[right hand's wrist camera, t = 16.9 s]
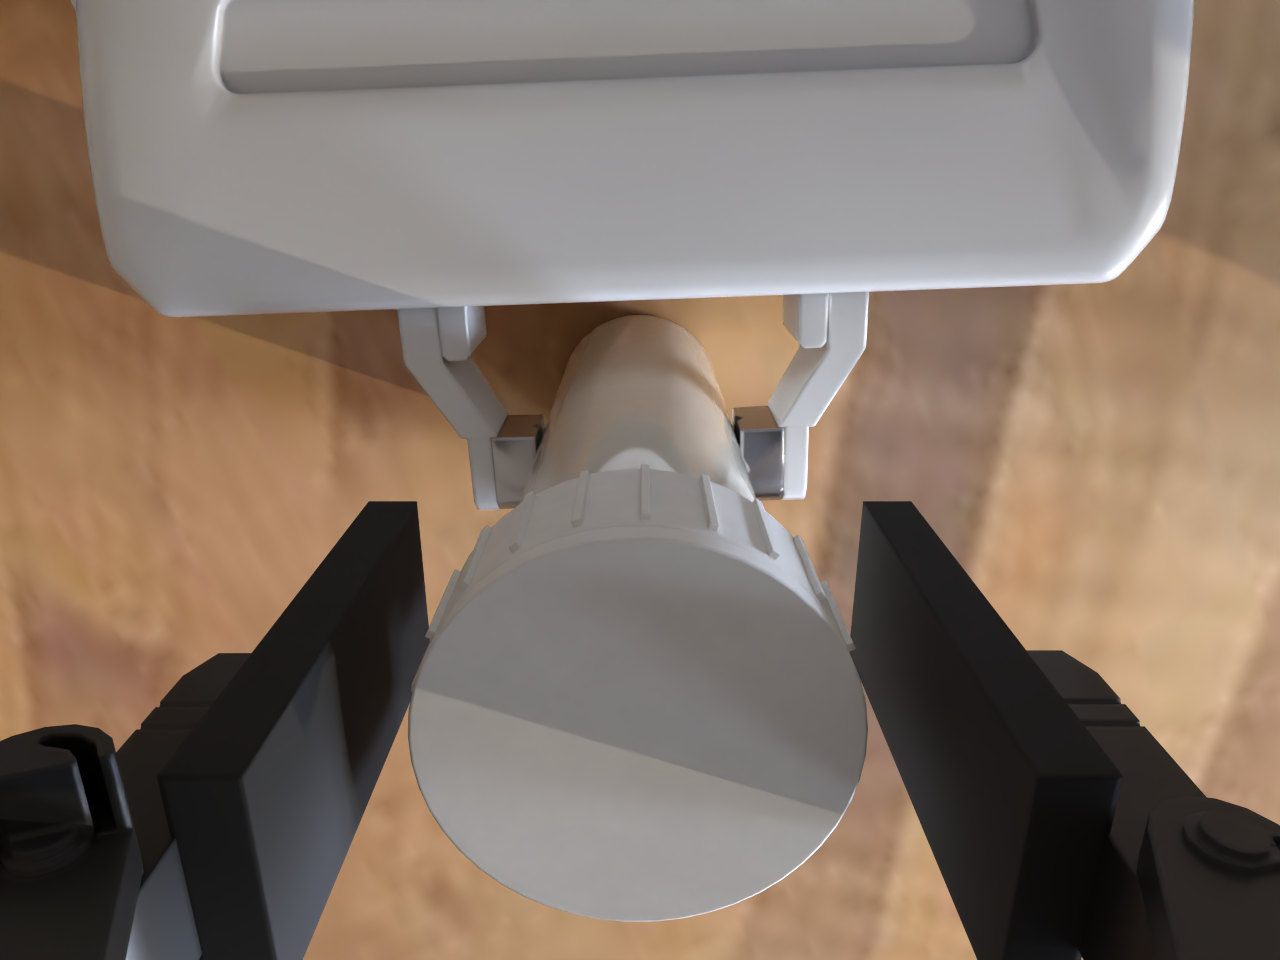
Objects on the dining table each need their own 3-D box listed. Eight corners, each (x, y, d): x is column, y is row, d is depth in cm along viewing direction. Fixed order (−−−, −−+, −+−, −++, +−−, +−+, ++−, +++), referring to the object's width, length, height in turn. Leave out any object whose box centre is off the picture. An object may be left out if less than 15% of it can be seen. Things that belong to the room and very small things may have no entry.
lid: (462, 429, 11) (422, 493, 9) (880, 499, 12) (933, 576, 10) (423, 775, 13) (382, 894, 11) (785, 827, 14) (811, 953, 11)
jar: (735, 336, 25) (866, 595, 10) (692, 478, 26) (754, 878, 12) (582, 296, 25) (499, 508, 10) (547, 443, 26) (431, 811, 12)
